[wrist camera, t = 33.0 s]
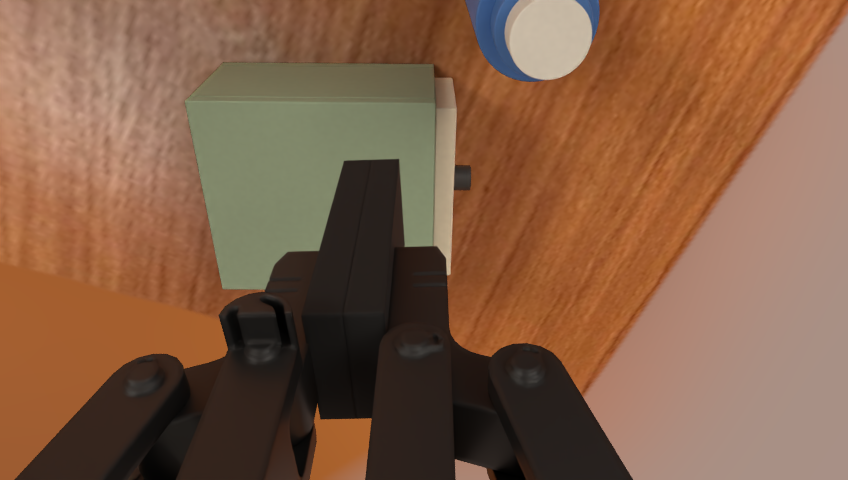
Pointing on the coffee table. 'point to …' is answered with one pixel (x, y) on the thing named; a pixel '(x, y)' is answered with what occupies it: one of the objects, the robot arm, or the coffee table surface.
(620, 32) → the coffee table surface
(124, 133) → the coffee table surface
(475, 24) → the bottle
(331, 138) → the cabinet
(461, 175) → the drawer
